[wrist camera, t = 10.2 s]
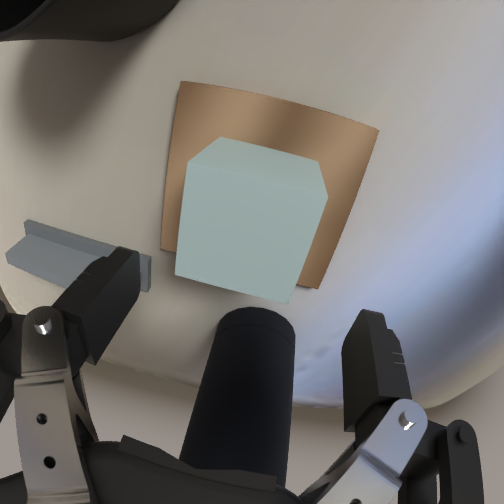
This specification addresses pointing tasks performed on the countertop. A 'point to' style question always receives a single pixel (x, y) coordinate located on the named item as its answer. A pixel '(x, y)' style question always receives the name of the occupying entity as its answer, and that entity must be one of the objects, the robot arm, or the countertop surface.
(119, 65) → the countertop surface
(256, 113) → the coaster
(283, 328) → the wine bottle
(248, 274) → the letter cube
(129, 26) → the mug
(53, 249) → the grey angle bar
